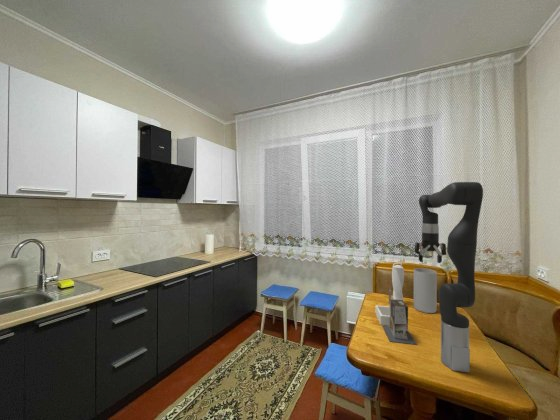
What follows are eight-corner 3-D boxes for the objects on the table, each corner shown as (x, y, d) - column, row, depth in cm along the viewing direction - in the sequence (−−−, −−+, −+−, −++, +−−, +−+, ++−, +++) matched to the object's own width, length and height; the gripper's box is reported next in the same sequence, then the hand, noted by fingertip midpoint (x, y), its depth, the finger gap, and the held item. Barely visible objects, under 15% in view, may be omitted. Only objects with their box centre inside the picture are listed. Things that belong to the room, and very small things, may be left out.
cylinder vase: (433, 306, 149) (433, 269, 149) (439, 315, 137) (439, 274, 137) (411, 304, 153) (411, 267, 153) (415, 311, 142) (416, 272, 142)
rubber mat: (417, 344, 107) (417, 344, 107) (389, 341, 109) (389, 340, 109) (406, 328, 121) (406, 327, 121) (382, 326, 124) (382, 325, 124)
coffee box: (408, 339, 110) (408, 307, 110) (394, 338, 111) (394, 305, 111) (402, 330, 119) (402, 299, 119) (389, 328, 120) (389, 298, 120)
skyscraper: (394, 300, 159) (395, 261, 159) (406, 304, 152) (406, 263, 152) (387, 303, 154) (388, 262, 154) (399, 307, 148) (399, 265, 148)
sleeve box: (402, 326, 123) (402, 317, 123) (380, 324, 125) (380, 315, 125) (394, 315, 137) (394, 307, 137) (375, 313, 139) (375, 305, 139)
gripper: (418, 232, 118) (418, 263, 118) (449, 233, 115) (448, 264, 115) (412, 231, 126) (412, 260, 126) (441, 231, 123) (441, 261, 123)
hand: (430, 262), depth 120 cm, fingers open, 8 cm apart
